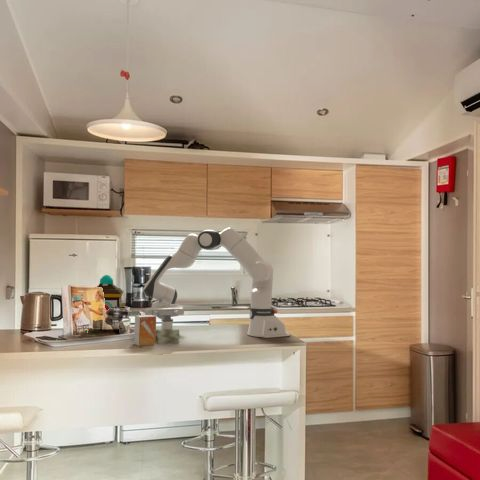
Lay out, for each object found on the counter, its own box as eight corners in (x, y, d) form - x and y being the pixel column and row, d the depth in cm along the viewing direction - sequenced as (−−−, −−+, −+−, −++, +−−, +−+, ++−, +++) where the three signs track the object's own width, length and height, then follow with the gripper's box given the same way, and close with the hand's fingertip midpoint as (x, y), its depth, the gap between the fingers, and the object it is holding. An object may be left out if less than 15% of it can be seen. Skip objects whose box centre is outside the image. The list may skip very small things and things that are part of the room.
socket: (174, 338, 220) (175, 326, 221) (178, 342, 211) (179, 329, 211) (154, 339, 217) (154, 327, 217) (157, 343, 208) (157, 330, 208)
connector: (170, 338, 217) (171, 314, 218) (172, 340, 213) (173, 315, 213) (160, 339, 216) (161, 314, 216) (162, 341, 211) (163, 315, 212)
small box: (138, 346, 200) (139, 317, 201) (133, 343, 205) (134, 315, 206) (155, 344, 204) (156, 316, 205) (150, 342, 210) (151, 314, 210)
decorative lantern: (88, 328, 246) (90, 273, 248) (125, 328, 250) (126, 274, 252) (82, 334, 227) (84, 275, 228) (122, 334, 231) (124, 275, 232)
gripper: (142, 305, 237) (146, 307, 223) (181, 303, 243) (186, 306, 230) (142, 317, 236) (145, 320, 223) (181, 315, 243) (186, 318, 230)
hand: (166, 313), depth 227 cm, fingers open, 8 cm apart
